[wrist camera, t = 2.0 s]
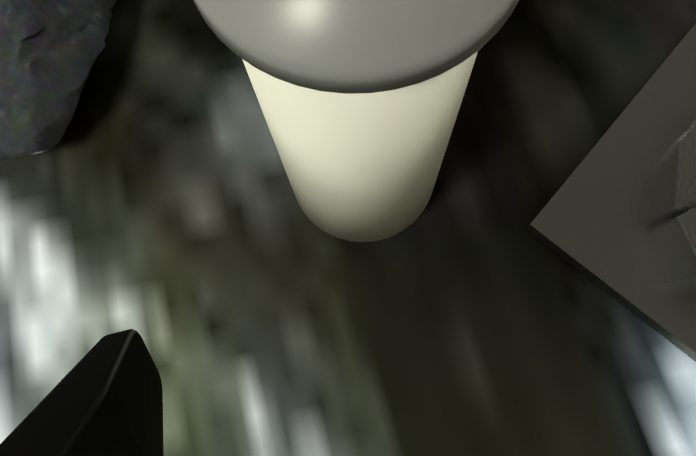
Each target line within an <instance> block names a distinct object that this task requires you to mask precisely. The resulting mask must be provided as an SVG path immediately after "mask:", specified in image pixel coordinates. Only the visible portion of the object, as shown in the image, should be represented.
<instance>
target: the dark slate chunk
mask: <svg viewBox="0 0 696 456" xmlns="http://www.w3.org/2000/svg"><path fill="white" fill-rule="evenodd" d="M116 1H117V0H0V160H4V159H11V158H18V157H22V156H27V155H35V154H38V153H42V152H44V151H47V150H49V149H51V148H53V147H54V146H56V145H57V144H58V143H59V142H60V140H61V138H62V136H63V134H64V132H65V130H66V128H67V126H68V124H69V123H70V121H71V119H72V117H73V114H74V112H75V109H76V106H77V103H78V101H79V97H80V94H81V91H82V89H83V87H84V85H85V83H86V81H87V78H88V76H89V74H90V71H91V68H92V66H93V64H94V61H95V59H96V58H97V56H98V55H99V53H100V52H101V51H102V50H103V48H104V47H105V42H104V39H105V37H106V35H107V33H108V31H109V21H110V19H111V17H112V13H111V10H112V8H113V7H114V5H115V3H116Z"/></svg>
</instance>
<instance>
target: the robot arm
mask: <svg viewBox="0 0 696 456" xmlns="http://www.w3.org/2000/svg"><path fill="white" fill-rule="evenodd" d="M0 456H164V455H163V401H162V383H161V378H160V375H159V372H158V370H157V368H156V366H155V364H154V362H153V360H152V358H151V356H150V354H149V352H148V350H147V347H146V345H145V343H144V341H143V339H142V337H141V336H140V334H139V333H138V332H137V331H135V330H133V329H129V330H125V331H121V332H117V333H113V334H109V335H106V336H104V337H103V338H102V339H101V340H100V341H99V342H98V343H97V344H96V345H95V346H94V347H93V348H92V349H91V350H90V351H89V352H88V353H87V354H86V355H85V356H84V357H83V358H82V359H81V360H80V362H79V363H78V364H77V365H76V366H75V367H74V368H73V369H72V370H71V371H70V372H69V373H68V374H67V375H66V376H65V377H64V378H63V379H62V380H61V381H60V382H59V383H58V385H57V386H56V387H55V388H54V389H53V390H52V391H51V392H50V393H49V394H48V395H47V396H46V397H45V398H44V399H43V400H42V401H41V402H40V403H39V404H38V405H37V406H36V408H35V409H34V410H33V411H32V412H31V413H30V414H29V415H28V416H27V417H26V418H25V419H24V420H23V421H22V422H21V423H20V424H19V425H18V426H17V427H16V428H15V429H14V430H13V432H12V433H11V434H10V435H9V436H8V437H7V438H6V439H5V440H4V441H3V442H2V443H1V444H0Z"/></svg>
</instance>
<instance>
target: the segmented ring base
mask: <svg viewBox="0 0 696 456" xmlns="http://www.w3.org/2000/svg"><path fill="white" fill-rule="evenodd" d="M526 230H527V231H529V232H530V233H531V234H532V235H534V236H535V237H536V238H538V239H539V240H540V241H541V242H543V243H544V244H545V245H547V246H548V247H549V248H551V249H552V250H553V251H554V252H556V253H557V254H558V255H560V256H561V257H562V258H563V259H565V260H566V261H567V262H569V263H570V264H571V265H572V266H574V267H575V268H576V269H578V270H579V271H580V272H581V273H583V274H584V275H585V276H587V277H588V278H589V279H590V280H592V281H593V282H594V283H596V284H597V285H598V286H599V287H601V288H602V289H603V290H605V291H606V292H607V293H608V294H610V295H611V296H612V297H614V298H615V299H616V300H617V301H619V302H620V303H621V304H623V305H624V306H625V307H626V308H628V309H629V310H630V311H632V312H633V313H634V314H635V315H637V316H638V317H639V318H641V319H642V320H643V321H644V322H646V323H647V324H648V325H650V326H651V327H652V328H653V329H655V330H656V331H657V332H659V333H660V334H661V335H662V336H664V337H665V338H666V339H668V340H669V341H670V342H671V343H673V344H674V345H675V346H677V347H678V348H679V349H680V350H682V351H683V352H684V353H686V354H687V355H688V356H689V357H691V358H692V359H693V360H695V361H696V22H695V24H694V25H693V26H692V27H691V28H690V30H689V31H688V32H687V33H686V35H685V36H684V37H683V38H682V39H681V41H680V42H679V43H678V44H677V45H676V47H675V48H674V49H673V50H672V52H671V53H670V54H669V55H668V56H667V58H666V59H665V60H664V61H663V63H662V64H661V65H660V66H659V67H658V69H657V70H656V71H655V72H654V73H653V75H652V76H651V77H650V78H649V80H648V81H647V82H646V83H645V84H644V86H643V87H642V88H641V89H640V90H639V92H638V93H637V94H636V95H635V97H634V98H633V99H632V100H631V101H630V103H629V104H628V105H627V106H626V107H625V109H624V110H623V111H622V112H621V114H620V115H619V116H618V117H617V118H616V120H615V121H614V122H613V123H612V124H611V126H610V127H609V128H608V129H607V131H606V132H605V133H604V134H603V135H602V137H601V138H600V139H599V140H598V142H597V143H596V144H595V145H594V146H593V148H592V149H591V150H590V151H589V152H588V154H587V155H586V156H585V157H584V159H583V160H582V161H581V162H580V163H579V165H578V166H577V167H576V168H575V169H574V171H573V172H572V173H571V174H570V176H569V177H568V178H567V179H566V180H565V182H564V183H563V184H562V185H561V186H560V188H559V189H558V190H557V191H556V193H555V194H554V195H553V196H552V197H551V199H550V200H549V201H548V202H547V203H546V205H545V206H544V207H543V208H542V210H541V211H540V212H539V213H538V214H537V216H536V217H535V218H534V219H533V221H532V222H531V223H530V224H529V225H528V227H527V228H526Z"/></svg>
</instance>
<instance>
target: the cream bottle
mask: <svg viewBox="0 0 696 456" xmlns="http://www.w3.org/2000/svg"><path fill="white" fill-rule="evenodd" d="M193 1H194V3H195V5H196V7H197V8H198V10H199V12H200V13H201V15H202V17H203V18H204V20H205V22H206V23H207V25H208V26H209V27H210V28H211V30H212V31H213V32H214V33H215V34H216V36H217V37H218V38H219V39H220V40H221V41H222V42H223V43H224V44H225V45H226V46H227V47H228V48H229V49H231V50H232V51H233V52H234V53H235V54H236V55H237V56H239V57H240V58H242V60H243V62H244V65H245V67H246V70H247V72H248V75H249V78H250V80H251V83H252V85H253V88H254V91H255V93H256V96H257V98H258V101H259V104H260V106H261V109H262V111H263V114H264V117H265V119H266V122H267V124H268V127H269V130H270V132H271V135H272V137H273V140H274V142H275V145H276V148H277V150H278V153H279V155H280V158H281V161H282V163H283V166H284V168H285V171H286V174H287V176H288V179H289V181H290V184H291V187H292V189H293V192H294V194H295V197H296V199H297V202H298V204H299V206H300V207H301V209H302V211H303V212H304V213H305V215H306V216H307V217H308V218H309V219H310V220H311V221H312V222H313V223H314V224H315V225H316V226H317V227H319V228H320V229H321V230H323V231H324V232H326V233H328V234H330V235H332V236H335V237H337V238H340V239H344V240H348V241H354V242H372V241H378V240H382V239H386V238H389V237H391V236H394V235H396V234H398V233H399V232H401V231H403V230H405V229H406V228H407V227H408V226H410V225H411V224H412V223H413V222H414V221H415V220H416V219H417V218H418V217H419V216H420V215H421V213H422V212H423V211H424V209H425V207H426V206H427V204H428V202H429V200H430V197H431V195H432V192H433V189H434V186H435V182H436V179H437V176H438V173H439V170H440V167H441V164H442V161H443V158H444V155H445V152H446V149H447V145H448V142H449V139H450V136H451V133H452V130H453V127H454V124H455V121H456V118H457V115H458V112H459V109H460V105H461V102H462V99H463V96H464V93H465V90H466V87H467V84H468V81H469V78H470V75H471V72H472V68H473V65H474V62H475V59H476V56H477V53H478V50H480V49H481V48H482V47H483V46H484V45H485V44H486V43H487V42H488V41H489V40H490V39H491V38H492V37H493V36H494V35H495V34H496V33H497V32H498V31H499V30H500V28H501V27H502V26H503V25H504V23H505V22H506V21H507V19H508V18H509V17H510V16H511V14H512V12H513V10H514V8H515V7H516V5H517V3H518V1H519V0H193Z"/></svg>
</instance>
